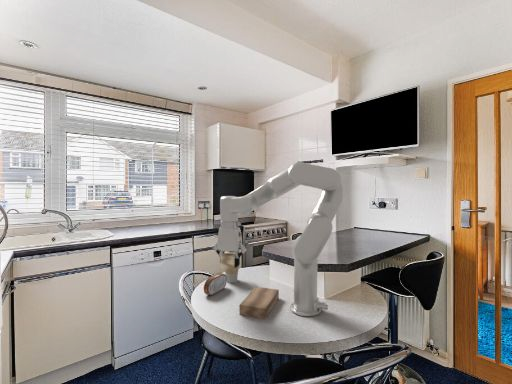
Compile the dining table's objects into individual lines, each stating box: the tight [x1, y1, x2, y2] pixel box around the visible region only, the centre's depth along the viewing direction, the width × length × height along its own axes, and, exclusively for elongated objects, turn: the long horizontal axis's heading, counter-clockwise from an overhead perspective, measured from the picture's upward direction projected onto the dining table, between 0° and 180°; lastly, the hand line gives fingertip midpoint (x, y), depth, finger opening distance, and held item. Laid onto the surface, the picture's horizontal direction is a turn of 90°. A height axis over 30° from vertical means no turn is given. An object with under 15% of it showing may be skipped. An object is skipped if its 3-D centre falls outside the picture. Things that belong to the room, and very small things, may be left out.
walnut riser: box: [238, 286, 280, 320], centre depth 123 cm, size 11×20×4 cm, turn 160°
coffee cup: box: [224, 252, 240, 284], centre depth 152 cm, size 9×9×15 cm
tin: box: [203, 272, 228, 296], centre depth 137 cm, size 15×3×8 cm, turn 149°
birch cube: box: [219, 251, 240, 271], centre depth 123 cm, size 6×6×6 cm
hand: (229, 265), depth 123 cm, fingers closed on birch cube, 6 cm apart
